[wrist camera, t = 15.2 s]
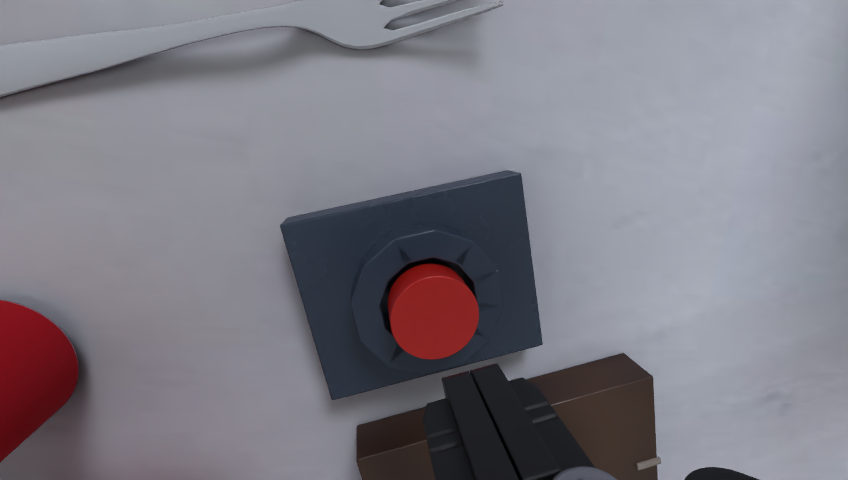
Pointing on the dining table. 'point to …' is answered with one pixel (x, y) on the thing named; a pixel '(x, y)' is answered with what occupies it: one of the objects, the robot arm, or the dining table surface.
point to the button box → (401, 250)
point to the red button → (432, 311)
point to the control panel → (575, 405)
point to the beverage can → (31, 372)
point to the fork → (315, 11)
